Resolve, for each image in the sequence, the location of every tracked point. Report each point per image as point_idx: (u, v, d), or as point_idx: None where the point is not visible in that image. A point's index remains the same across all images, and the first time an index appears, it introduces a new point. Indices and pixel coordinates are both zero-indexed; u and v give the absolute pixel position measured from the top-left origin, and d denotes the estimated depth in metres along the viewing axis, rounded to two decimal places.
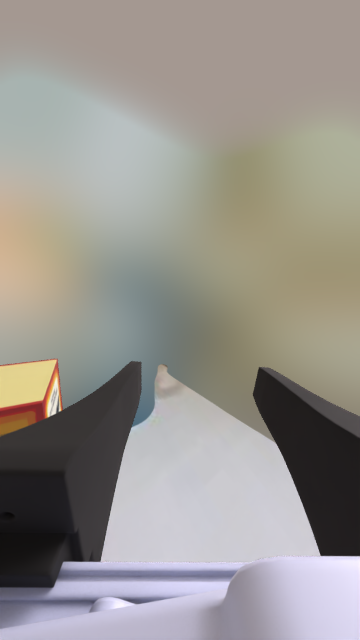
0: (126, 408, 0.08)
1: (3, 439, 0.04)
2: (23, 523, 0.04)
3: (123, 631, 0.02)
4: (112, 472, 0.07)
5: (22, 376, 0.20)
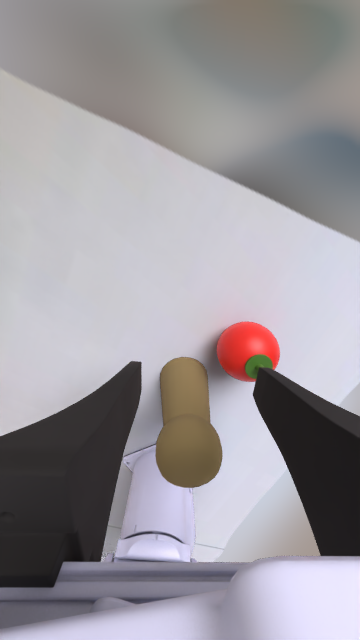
0: (126, 408, 0.08)
1: (3, 439, 0.04)
2: (23, 523, 0.04)
3: (123, 631, 0.02)
4: (112, 472, 0.07)
5: None
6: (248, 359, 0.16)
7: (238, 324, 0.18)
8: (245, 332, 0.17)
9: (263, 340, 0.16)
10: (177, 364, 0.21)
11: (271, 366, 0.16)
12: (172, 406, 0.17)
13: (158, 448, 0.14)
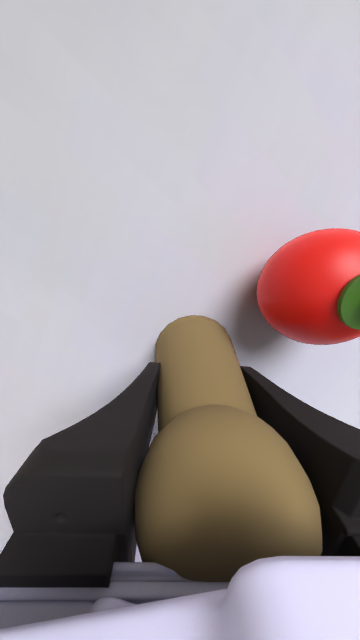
0: (150, 409, 0.08)
1: (51, 440, 0.04)
2: (76, 524, 0.04)
3: (123, 631, 0.02)
4: None
5: None
6: (347, 284, 0.07)
7: (304, 234, 0.10)
8: (331, 235, 0.08)
9: None
10: (184, 324, 0.13)
11: None
12: (178, 388, 0.08)
13: (140, 498, 0.05)
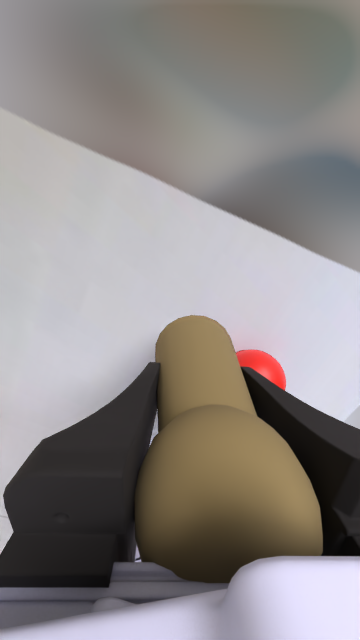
0: (150, 409, 0.08)
1: (51, 440, 0.04)
2: (76, 524, 0.04)
3: (123, 631, 0.02)
4: None
5: None
6: None
7: (246, 353, 0.19)
8: (253, 363, 0.18)
9: (271, 372, 0.17)
10: (184, 324, 0.13)
11: None
12: (178, 389, 0.08)
13: (140, 498, 0.05)
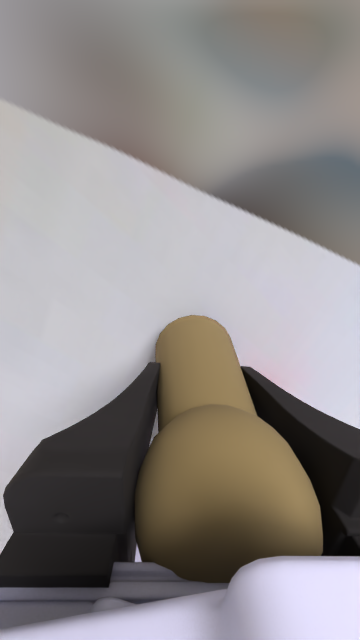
0: (150, 409, 0.08)
1: (51, 440, 0.04)
2: (76, 524, 0.04)
3: (123, 631, 0.02)
4: None
5: None
6: None
7: None
8: None
9: None
10: (184, 324, 0.13)
11: None
12: (178, 388, 0.08)
13: (140, 498, 0.05)
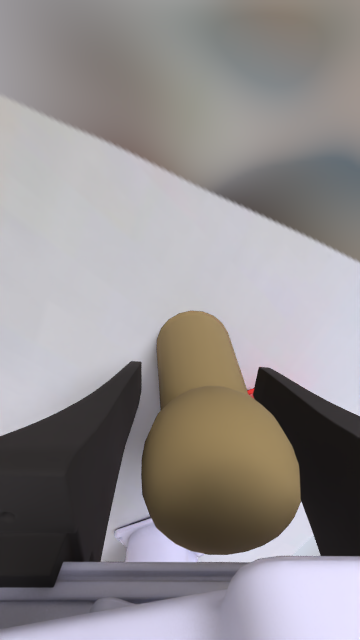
0: (126, 408, 0.08)
1: (3, 439, 0.04)
2: (23, 523, 0.04)
3: (123, 631, 0.02)
4: (112, 472, 0.07)
5: None
6: None
7: None
8: None
9: None
10: (184, 319, 0.13)
11: None
12: (178, 374, 0.09)
13: (147, 460, 0.06)
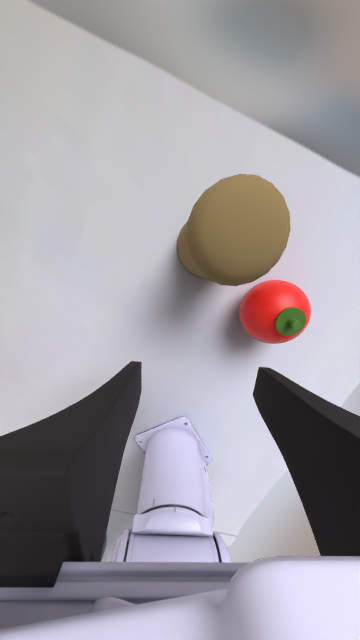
0: (126, 408, 0.08)
1: (3, 439, 0.04)
2: (23, 523, 0.04)
3: (123, 631, 0.02)
4: (112, 472, 0.07)
5: None
6: (279, 314, 0.15)
7: (264, 282, 0.17)
8: (274, 287, 0.16)
9: (295, 293, 0.15)
10: None
11: (304, 321, 0.15)
12: None
13: (193, 212, 0.09)
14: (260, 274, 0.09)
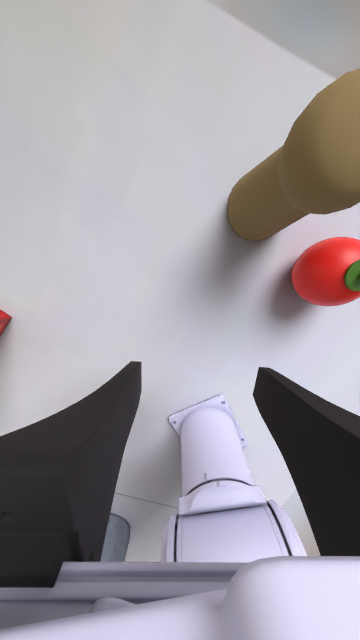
0: (126, 408, 0.08)
1: (3, 439, 0.04)
2: (23, 523, 0.04)
3: (123, 631, 0.02)
4: (112, 472, 0.07)
5: None
6: (349, 266, 0.14)
7: (323, 240, 0.16)
8: (340, 241, 0.15)
9: None
10: None
11: None
12: None
13: (304, 116, 0.08)
14: None
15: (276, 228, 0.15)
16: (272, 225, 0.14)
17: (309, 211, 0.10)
